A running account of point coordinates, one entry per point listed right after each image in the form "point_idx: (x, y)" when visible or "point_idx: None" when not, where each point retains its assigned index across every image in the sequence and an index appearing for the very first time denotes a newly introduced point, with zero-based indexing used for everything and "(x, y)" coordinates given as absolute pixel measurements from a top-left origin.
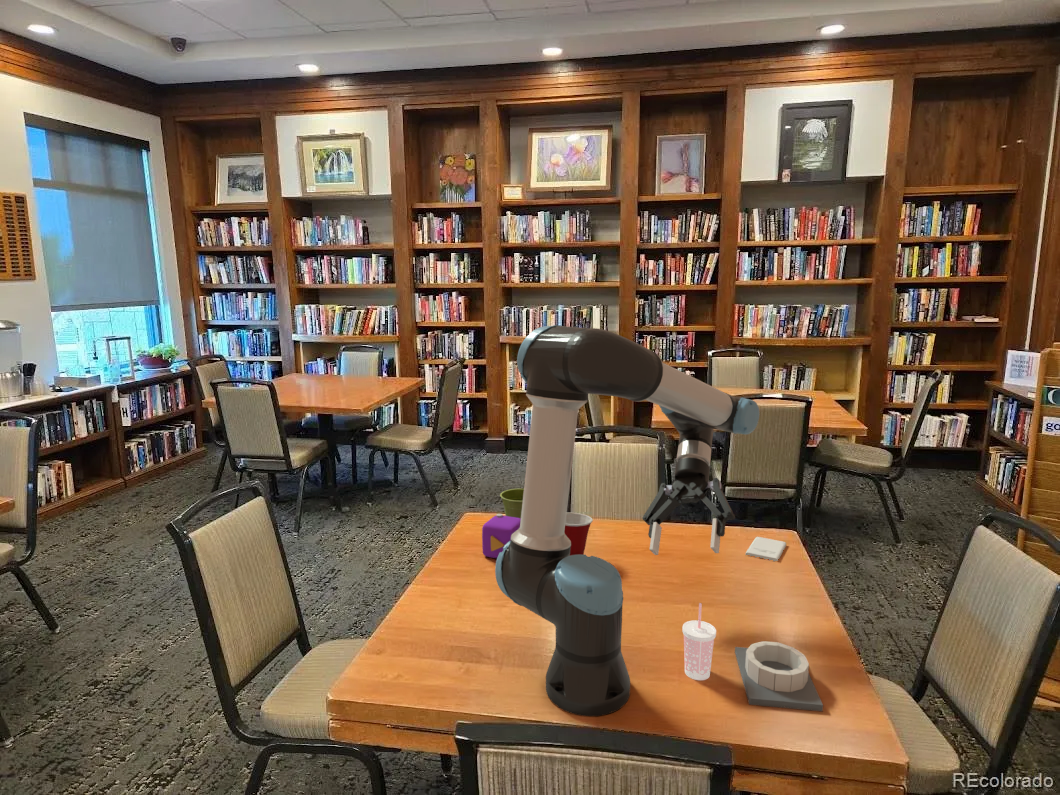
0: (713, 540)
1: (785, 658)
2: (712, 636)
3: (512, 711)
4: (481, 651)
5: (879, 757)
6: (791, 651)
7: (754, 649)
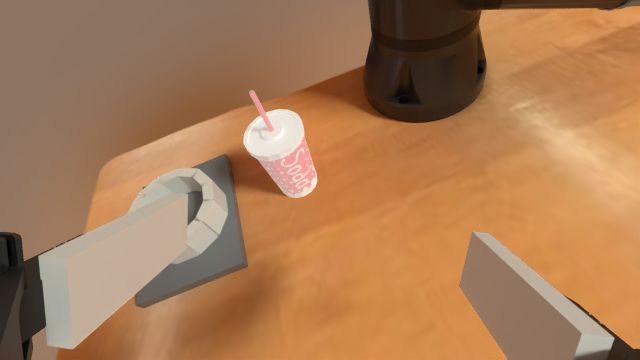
0: (157, 201)
1: None
2: (249, 126)
3: None
4: (630, 53)
5: (118, 156)
6: None
7: (200, 209)
